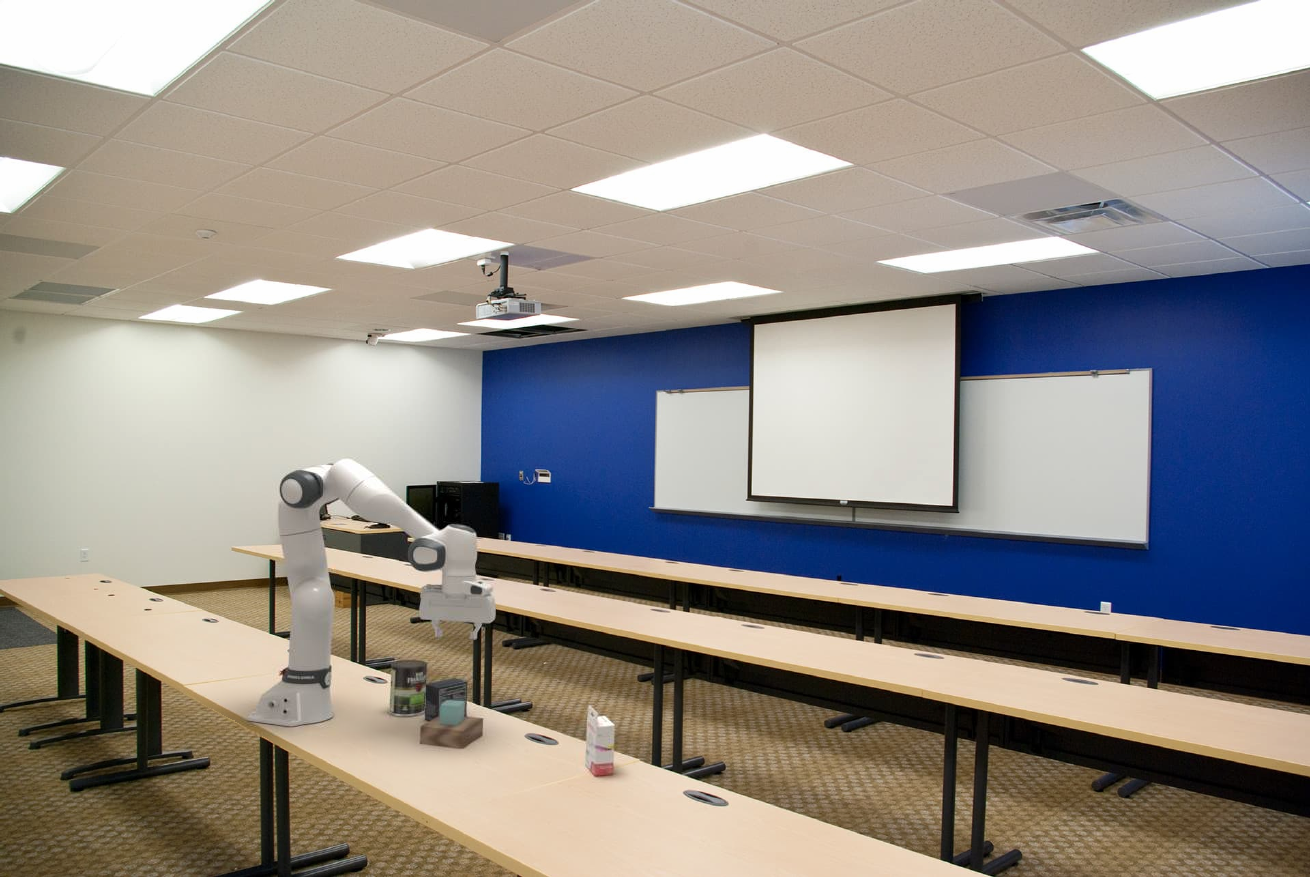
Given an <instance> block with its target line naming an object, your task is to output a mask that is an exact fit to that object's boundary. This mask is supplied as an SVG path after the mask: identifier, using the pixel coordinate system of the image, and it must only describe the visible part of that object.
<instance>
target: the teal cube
mask: <svg viewBox="0 0 1310 877" xmlns="http://www.w3.org/2000/svg"><path fill="white" fill-rule="evenodd" d="M464 707H465V701H454V700H446V701H445V702H444V703H442V704H441V706H440V724H444V725H459V724H460V723H461V722H462V721H463V720H464Z"/></svg>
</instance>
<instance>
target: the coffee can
mask: <svg viewBox="0 0 1310 877" xmlns="http://www.w3.org/2000/svg"><path fill="white" fill-rule="evenodd" d="M390 668H391V669H390V670H391V671H390V691H389V692H390V693H389V694H390V695H389V708H388V709H389V711H388V713H389V715H391V716H395V717H403V718H405V717H406V718H407V717H409V718H410V717H416V716H419V715H423V714H425V698H426V684H427V673H428V662H427V661H424V660H421V659H419V660H418V659H417V660H416V659H404V660H403V659H402V660H397V661H393V662H392V663H391V664H390Z"/></svg>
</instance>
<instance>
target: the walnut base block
mask: <svg viewBox="0 0 1310 877" xmlns="http://www.w3.org/2000/svg"><path fill="white" fill-rule="evenodd" d="M483 731H484V718H483V717H476V716H468V715H467V716H464V720H463V721H462V722H461V723H460V724H459V725H444V724H440V716H438V717H436V718H434V719H433V720H431V721H429V722H428V721H426V722H425V723H424V724H422V725H420V732H419V744H420V745H427V746H435V747H442V748H451V749H458V750H462V749H464V748H466V747H467V746H469V745H470V744H472V743H473V742H475V741H477V740H478V739H479V738H481V737H482V736H483V734H484V732H483Z"/></svg>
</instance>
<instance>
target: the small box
mask: <svg viewBox="0 0 1310 877" xmlns="http://www.w3.org/2000/svg"><path fill="white" fill-rule="evenodd" d="M446 700H454V701H465V707H464V716H468V713H467V711H468V710H467V708H468V707H467V705H468V704H467V703H468V702H467V701H468V680H465V679H461V678H458V677H453V678H449V679H443V680H439V681H434V682H429V683H426V695H425V712H424V721H426V722H429V721H431V720H433V719H434V718H436V717H438V716H440V706H441V704H442V703H444V702H445V701H446Z"/></svg>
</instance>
